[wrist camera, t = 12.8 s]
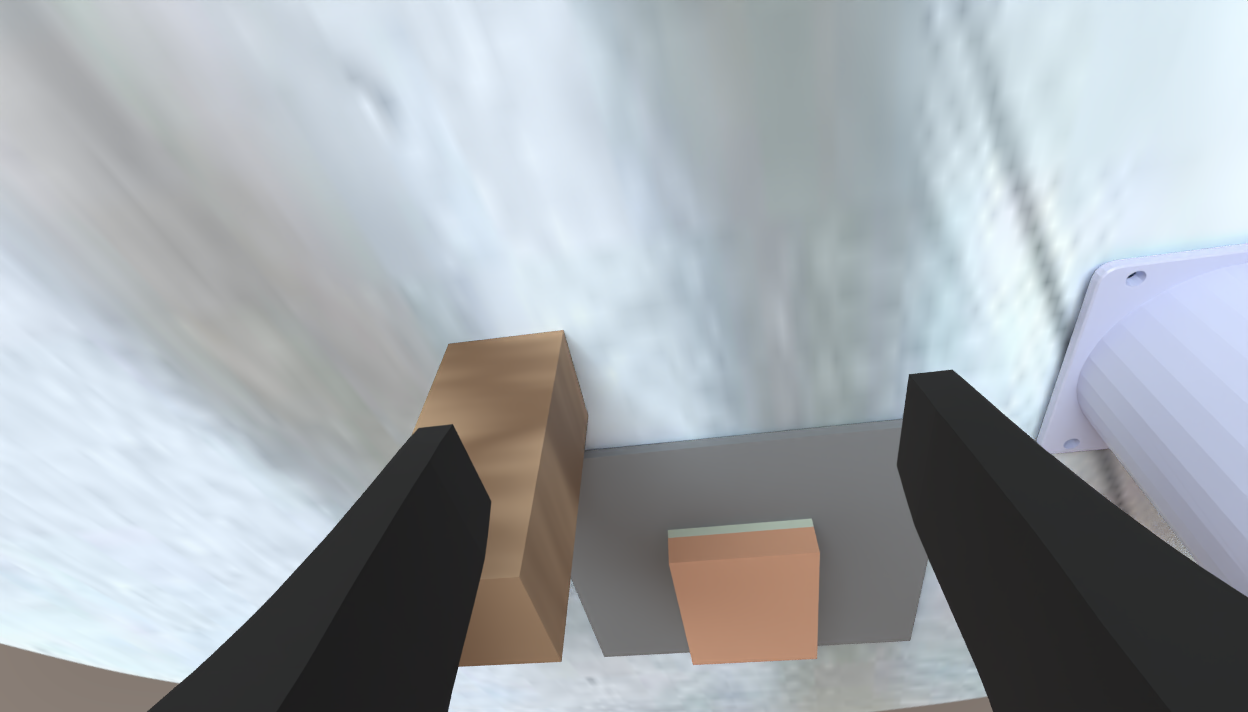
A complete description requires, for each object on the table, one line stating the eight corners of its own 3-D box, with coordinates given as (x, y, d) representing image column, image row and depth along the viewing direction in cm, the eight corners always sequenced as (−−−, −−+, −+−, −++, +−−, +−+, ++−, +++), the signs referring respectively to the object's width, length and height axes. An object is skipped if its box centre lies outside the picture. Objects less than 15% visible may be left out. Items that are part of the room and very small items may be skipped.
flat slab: (819, 552, 25) (816, 658, 30) (811, 518, 26) (810, 626, 31) (668, 563, 25) (693, 664, 31) (667, 529, 27) (691, 633, 32)
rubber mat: (953, 413, 22) (957, 422, 22) (907, 633, 32) (910, 640, 32) (524, 456, 25) (523, 464, 24) (604, 649, 34) (604, 656, 34)
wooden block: (563, 330, 21) (518, 577, 14) (588, 415, 23) (561, 661, 16) (448, 343, 21) (349, 588, 14) (484, 425, 24) (415, 668, 17)
